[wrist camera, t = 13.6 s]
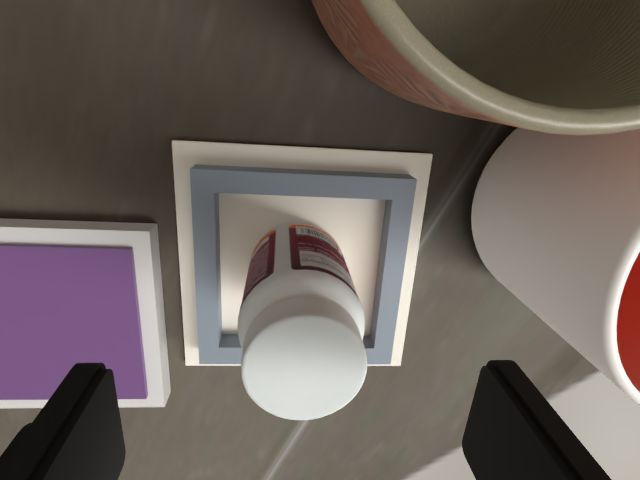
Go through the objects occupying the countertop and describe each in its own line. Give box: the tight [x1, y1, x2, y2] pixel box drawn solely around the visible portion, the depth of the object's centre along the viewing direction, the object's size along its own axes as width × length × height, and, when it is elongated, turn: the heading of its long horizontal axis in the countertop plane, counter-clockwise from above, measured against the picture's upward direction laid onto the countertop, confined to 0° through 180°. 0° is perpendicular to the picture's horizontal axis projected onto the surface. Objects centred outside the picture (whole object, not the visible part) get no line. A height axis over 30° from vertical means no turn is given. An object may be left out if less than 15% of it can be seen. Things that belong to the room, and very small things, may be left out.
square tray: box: [172, 140, 433, 366], centre depth 20 cm, size 12×12×2 cm
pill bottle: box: [238, 222, 367, 420], centre depth 16 cm, size 5×5×8 cm
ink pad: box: [0, 218, 171, 408], centre depth 20 cm, size 10×10×2 cm
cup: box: [471, 128, 640, 405], centre depth 16 cm, size 10×10×10 cm
